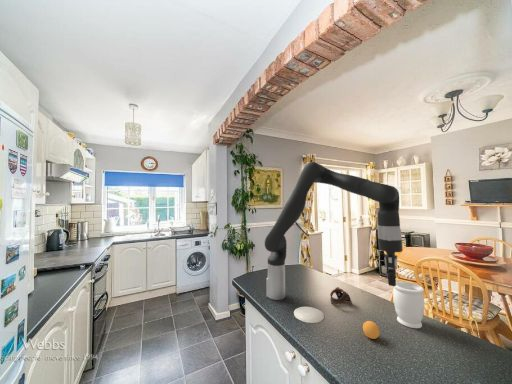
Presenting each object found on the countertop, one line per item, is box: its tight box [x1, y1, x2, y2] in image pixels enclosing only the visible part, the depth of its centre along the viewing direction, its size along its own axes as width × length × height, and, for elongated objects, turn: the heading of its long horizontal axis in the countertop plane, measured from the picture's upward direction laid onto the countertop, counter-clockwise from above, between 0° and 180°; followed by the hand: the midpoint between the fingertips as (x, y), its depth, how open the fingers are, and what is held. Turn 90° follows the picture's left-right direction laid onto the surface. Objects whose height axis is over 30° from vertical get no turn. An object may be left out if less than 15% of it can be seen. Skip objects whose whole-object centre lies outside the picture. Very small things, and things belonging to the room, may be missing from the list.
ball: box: [362, 320, 381, 340], centre depth 76 cm, size 6×6×6 cm
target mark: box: [293, 306, 325, 324], centre depth 91 cm, size 13×13×1 cm
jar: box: [392, 281, 425, 329], centre depth 85 cm, size 11×10×15 cm
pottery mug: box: [329, 287, 353, 307], centre depth 102 cm, size 12×10×8 cm
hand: (392, 281), depth 76 cm, fingers open, 8 cm apart
